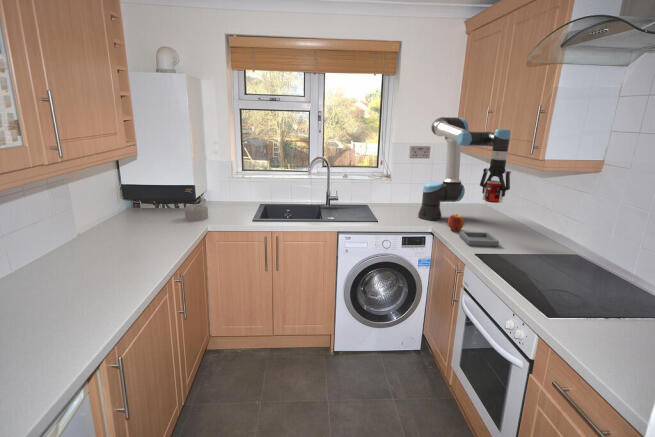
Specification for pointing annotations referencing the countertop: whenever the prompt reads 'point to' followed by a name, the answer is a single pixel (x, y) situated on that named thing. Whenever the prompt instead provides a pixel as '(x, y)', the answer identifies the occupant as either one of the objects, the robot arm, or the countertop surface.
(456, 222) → the apple
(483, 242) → the tray
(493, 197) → the canned food
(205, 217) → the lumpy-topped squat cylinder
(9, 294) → the countertop surface
